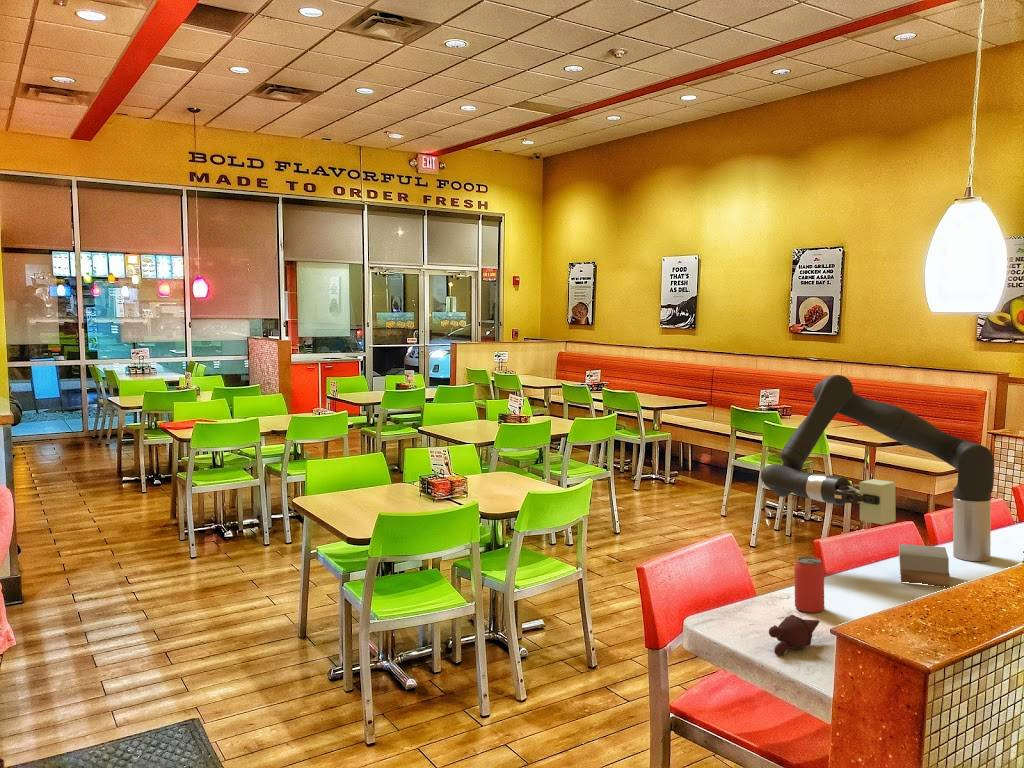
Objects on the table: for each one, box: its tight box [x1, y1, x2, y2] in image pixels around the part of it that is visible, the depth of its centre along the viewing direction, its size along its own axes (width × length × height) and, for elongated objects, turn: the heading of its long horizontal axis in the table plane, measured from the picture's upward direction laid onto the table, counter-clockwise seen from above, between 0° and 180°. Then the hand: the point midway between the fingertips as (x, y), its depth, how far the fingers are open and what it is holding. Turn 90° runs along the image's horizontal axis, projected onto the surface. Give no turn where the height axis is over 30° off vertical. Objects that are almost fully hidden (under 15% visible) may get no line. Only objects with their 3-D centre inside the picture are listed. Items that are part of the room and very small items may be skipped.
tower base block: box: [899, 568, 951, 589], centre depth 201 cm, size 11×11×4 cm
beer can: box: [793, 556, 825, 614], centre depth 182 cm, size 7×7×12 cm
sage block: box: [859, 478, 896, 526], centre depth 194 cm, size 6×6×10 cm
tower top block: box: [898, 543, 950, 574], centre depth 201 cm, size 11×11×4 cm
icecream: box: [768, 614, 820, 656], centre depth 160 cm, size 7×7×15 cm
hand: (886, 498), depth 192 cm, fingers closed on sage block, 6 cm apart
